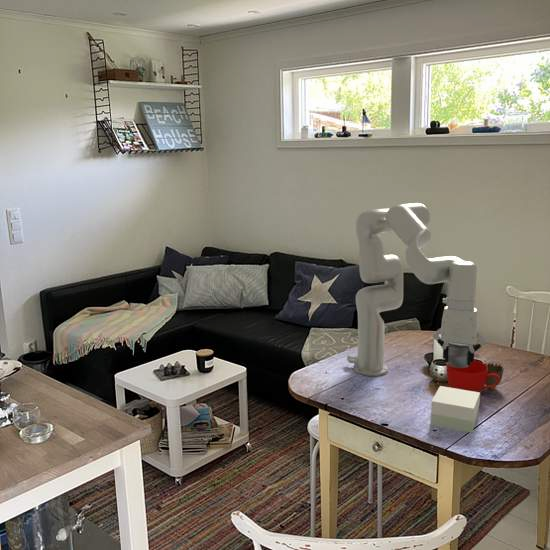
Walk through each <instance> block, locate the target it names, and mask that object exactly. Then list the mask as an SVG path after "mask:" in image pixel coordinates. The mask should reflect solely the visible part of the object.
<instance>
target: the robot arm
mask: <svg viewBox="0 0 550 550" xmlns="http://www.w3.org/2000/svg"><path fill="white" fill-rule="evenodd" d="M430 220H431V213H430V211H429V209H428V207H427V206H426V205H424V204H422V203H419V202H415V203H414V202H412V203H402V204H401V203H399V204H396V205H392V207H391V206H390V207H386V208H382V207H381V208H372V209H368V210H365V211H362V212H361V213H359V215H358V217H356V222H355V231H356V236H357V241H358V255H359V256H358V258H359V259H358V260H359V277H360V279H361V281H362V282H364V283H366V284H375V283H383V282H384V284H378V285H377V284H376V285H371V286H365V287H362V288H361V289H359V290H358V291H357V293H356V295H355V305H356V311H357V329H358V331H357V355H356V356H354V355H349V354H348V355H347V357H346V360H347V361H348V363H350V364H353V366H352V367H353V368H352V369H353V371H354V372H355V373H356V374H359V375H362V376H368V377H377V376H383V375H385V374H386V373H388V371H389V368H388V367H389V366H388V365H387V364H386V363H385V332H386V331H385V330H386V329H385V321H384V319H383V318H382V317H381V315H380V313H382V312H387V311H392V310H397V309H398V308H400V307H401V306H402V304H403V301H404V266H403V263H402V260H401V259H400V257H398V256H397V255H395V254H392V253H391V254H384V242H383V240H382V238H381V237H380V235H379V234H389V233H390V234H391V233H395V234H396V236H397V237H398V238H399V239H400V240H401V241H402V243H403V244H404V245H405V246H406V250H405V259H406V263H407V266H408V268H409V270H411V272H412V273H413V274H414V275H415V277H416V278H417V279H418V280H419V281H420V282H421V283H424V284H425V285H435V284H440V283H448V289H447V297H446V298H445V297H443V298H442V303H443V304H446V306H444V309H443V313H442V318H441V327H440V328H438V329H437V330H436V331H435V332H434V333H433V334H432V338H433V339H434V340H435V341H436V342H437V343H438V345H439V346H440V347H441V348H442V359H443V360H444V363H446V364H447V363H448V344H449V343H450V342H451V343H459V344H467V345H468V346H469V349H470V350H469V353H468V366H470V365H471V363H473V362H474V360H475V352H477V351H478V350H479V349H480V348H482V347H483V346H485V345H486V344H487V342H488V340H487V339H486V337H485V335H483V334H482V333H481V332H480V330H479V316H478V309H477V308H475V306H476V292H477V291H476V288H477V273H478V272H477V271H478V269H477V265H476V263H474V262H473V261H467V260H463V259H462V258H459V257H458V256H453V255H449V256H448V255H447V256H438V257H431V258H428V257H427V256H426V255H425V254H424V253H423V252H422V249H424V248H425V247H426V245H428V244H429V242H430V240H431V238H432V237H431V236H432V232H431V231H430V230H429V228H428V227H427V226H428V225H429V224H430ZM477 340H479V342H478V341H477Z"/></svg>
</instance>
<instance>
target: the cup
mask: <svg viewBox="0 0 550 550" xmlns="http://www.w3.org/2000/svg"><path fill="white" fill-rule="evenodd" d="M484 364H485V365H487V367H488V373H487V375H488V374H497V375H498V376H499V378H500V382H499V384H498V385H500V384H501V381H502V379H503V375H504V369H505V368H503V366H502V364H497V363H495V364H494V363H493V362H488V363H487V362H485V363H484ZM496 383H497V378H496V377H495V376H490V377H488V378H487V380H486V383H485V385H484V386H492V385H494V384H496ZM496 389H497V386H496V387H493V388H489V389H487V391H494V390H496Z"/></svg>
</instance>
